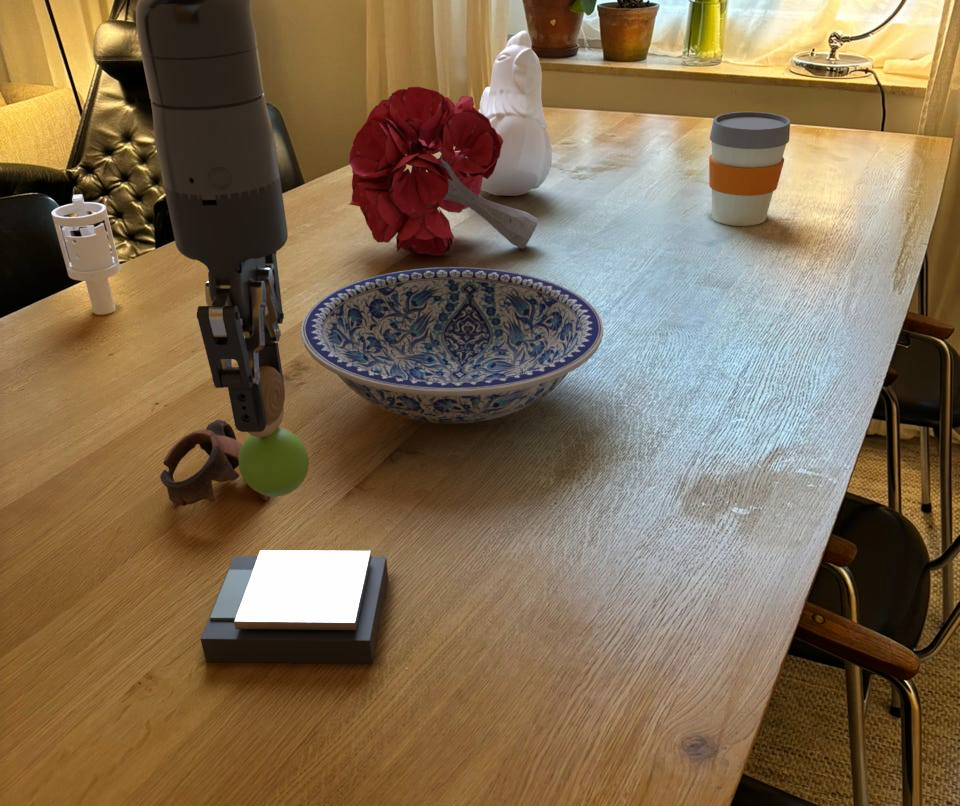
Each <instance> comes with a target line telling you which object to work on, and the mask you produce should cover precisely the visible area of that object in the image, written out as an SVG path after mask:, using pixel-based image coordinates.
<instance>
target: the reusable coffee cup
mask: <svg viewBox="0 0 960 806" xmlns="http://www.w3.org/2000/svg"><path fill="white" fill-rule="evenodd" d="M790 131H791V120H790V119H789V118H788V117H786V116H784V115H781V114H775V113H771V112H765V111H764V112H763V111H733V112H726V113H722V114H718V115H715V116H714V118H713V120H712V125H711V129H710V134H709V140H710V141H711V153H710V155H709V157H708V185H709V188H710V189H711V219H712V220H713V221H715V222H717V223H719V224H723V225H726V226H736V227H748V226H756V225H759V224H762V223H764V222H765V221H766V219H767V215H768V212H769V209H770V205H771V201H772V197H773V193H774V192H775V191H776V190H777V188H778V185H779V181H780V178H781V174H782V172H783V171H782V170H783V167H784V163H785V158H784V153H785V149H786V147H787V144H788V143H789V142H790V134H791V132H790Z"/></svg>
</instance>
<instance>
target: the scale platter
mask: <svg viewBox="0 0 960 806" xmlns="http://www.w3.org/2000/svg"><path fill="white" fill-rule="evenodd" d="M257 556H258V557H257V560H256V563H255V566H254V568H253V571H252V574H251V577H250V579H249V582H248V585H247V588H246V590H245V593H244V596H243V598H242V601H241V604H240V607H239V609H238V612H237V615H236V618H235V620H234V624H235V629H276V630H356V628H357V623H358V619H359V614H360V609H361V605H362V600H363V595H364V591H365V586H366V581H367V577H368V572H369V567H370V563H371V557H372V551H371V550H298V549H297V550H291V549H289V550H288V549H287V550H286V549H284V550H280V549H277V550H276V549H275V550H272V549H261V550H259V552H258V555H257Z"/></svg>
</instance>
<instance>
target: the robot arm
mask: <svg viewBox="0 0 960 806" xmlns="http://www.w3.org/2000/svg"><path fill="white" fill-rule="evenodd" d="M252 10H253V9H252V0H137V3H136V7H135V26H136V34H137V40H138V46H139V50H140V55H141V61H142V65H143V70H144V75H145V80H146V86H147V89H148V90H147V91H148V96H149V99H150V105H151V111H152V125H153V136H154V143H155V150H156V155H157V161H158V165H159V170H160V175H161V180H162V184H163V189H164V193H165V198H166V204H167V208H168V213H169V218H170V223H171V228H172V233H173V238H174V242H175V243H174V244H175V246H176V249H177V250H178V252H179V253H180V254H181V255H182V256H184V257H186V258H188V259H190V260H191V261H192V260H193V261H194V260H195V261H198V262H200V263H201V264H203V265H204V266H205V267H206V268H207V270H208V273H207V277H208V280H206V281H205V284H204V292H205V293H204V294H205V295H204V296H205V303H206V305H198V307H197V309H196V319H197V321H198V326H199V329H200V334H201V338H202V341H203V345H204V349H205V353H206V357H207V362H208V365H209V370H210V373H211V378H212V382H213V385H214V387H215V388H216V389H223V388H227V391H228V396H229V401H230V406H231V411H232V417H233V421H234V426H235V429H236V430H237V431H239V432H241V433H248V432H262V431H263V430H264V429H265V427H266V425H267V419H266V413H265V407H264V401H263V395H262V389H261V383H260V372H259V368H260V367H262V366H270V367H273V368H275V369H276V370H277V371H278V372H279V373H280V375H281V377H282V379H283V382H284V383H285V381H284V375H283V368H282V362H281V361H282V360H281V355H280V354H281V353H280V347H279V341H280V338H281V336H282V335H281V334H282V332H281V329H280V326H279V325H280V324H281V325H282V324H283V321H284V319H285V314H284V311H283V303H282V295H281V285H280V278H279V277H280V276H279V268H278V259H277V253H278V251H279V250H281V249H282V248H283V247H284V246H285V244H286V243H287V241H288V238H289V234H288V225H287V219H286V212H285V204H284V197H283V188H282V181H281V175H280V168H279V159H278V153H277V145H276V140H275V133H274V128H273V124H272V120H271V116H270V113H269V108H268V105H267V100H266V94H265V87H264V80H263V74H262V66H261V59H260V53H259V45H258V38H257V31H256V27H255V23H254V19H253V12H252ZM232 360H233V361H236V363H237V366H233V365H232V364H233V363H232Z"/></svg>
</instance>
